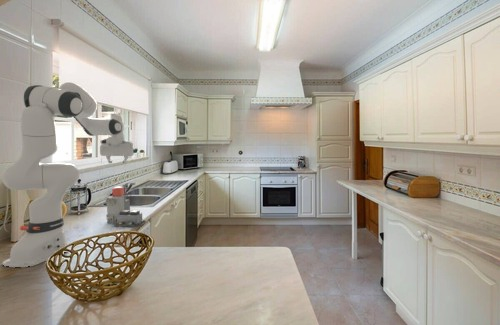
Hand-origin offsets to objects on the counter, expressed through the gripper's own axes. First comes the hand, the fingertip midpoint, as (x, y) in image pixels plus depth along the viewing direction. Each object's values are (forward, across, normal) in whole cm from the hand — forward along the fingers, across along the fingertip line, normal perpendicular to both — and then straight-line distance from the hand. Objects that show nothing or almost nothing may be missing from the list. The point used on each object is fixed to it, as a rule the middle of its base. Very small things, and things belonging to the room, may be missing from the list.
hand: (117, 163), depth 158 cm
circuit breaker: (+35, 0, 0) cm, 35 cm away
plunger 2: (+34, -15, +8) cm, 38 cm away
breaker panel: (+35, -12, +8) cm, 38 cm away
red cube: (+20, 0, 0) cm, 20 cm away
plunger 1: (+34, -9, +8) cm, 36 cm away
